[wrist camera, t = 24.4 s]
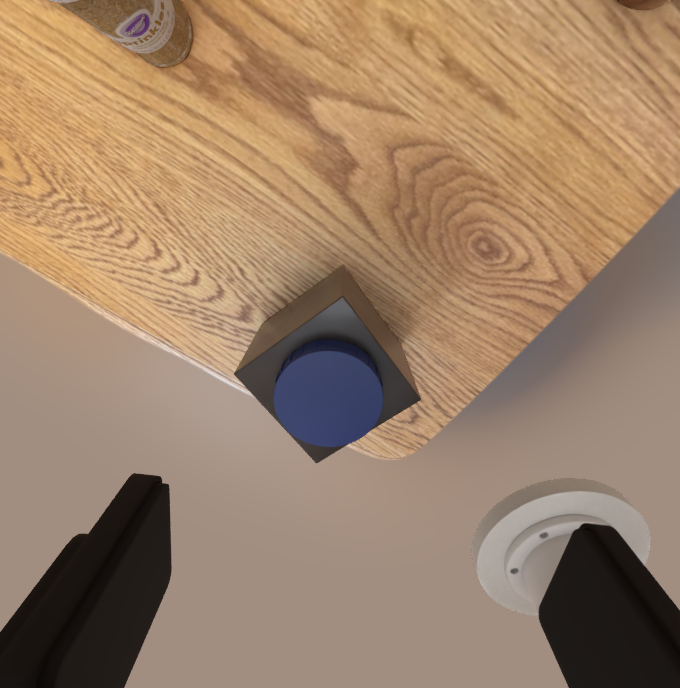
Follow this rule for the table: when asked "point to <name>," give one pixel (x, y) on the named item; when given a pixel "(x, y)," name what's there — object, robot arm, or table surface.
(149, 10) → the spice jar
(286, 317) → the stand
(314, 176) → the table surface
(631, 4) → the jar
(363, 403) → the lid
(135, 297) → the table surface
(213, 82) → the table surface
